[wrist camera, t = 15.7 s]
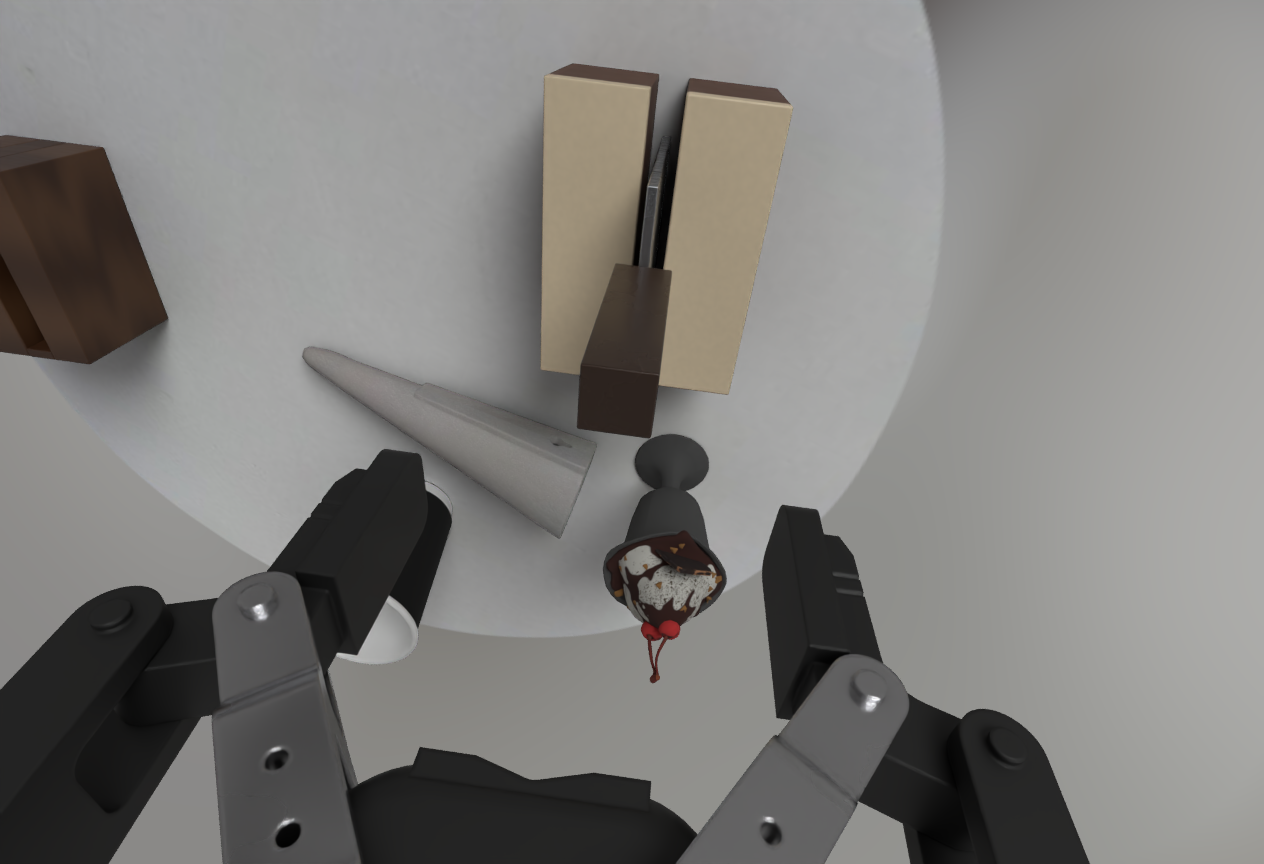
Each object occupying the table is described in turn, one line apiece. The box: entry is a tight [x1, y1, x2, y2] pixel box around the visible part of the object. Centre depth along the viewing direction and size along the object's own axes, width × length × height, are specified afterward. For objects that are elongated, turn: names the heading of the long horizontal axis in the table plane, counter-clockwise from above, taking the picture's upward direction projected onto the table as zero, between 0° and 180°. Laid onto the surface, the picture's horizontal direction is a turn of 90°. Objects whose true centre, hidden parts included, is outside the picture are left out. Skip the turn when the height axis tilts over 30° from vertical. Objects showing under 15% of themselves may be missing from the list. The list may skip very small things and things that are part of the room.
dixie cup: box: [336, 482, 452, 665], centre depth 41 cm, size 8×8×11 cm
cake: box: [541, 63, 793, 395], centre depth 29 cm, size 13×10×6 cm
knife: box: [577, 136, 672, 438], centre depth 24 cm, size 8×2×18 cm, turn 174°
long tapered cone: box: [303, 347, 597, 539], centre depth 39 cm, size 6×6×19 cm
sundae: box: [603, 435, 727, 683], centre depth 35 cm, size 7×7×15 cm
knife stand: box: [0, 135, 168, 364], centre depth 33 cm, size 10×5×6 cm, turn 174°
